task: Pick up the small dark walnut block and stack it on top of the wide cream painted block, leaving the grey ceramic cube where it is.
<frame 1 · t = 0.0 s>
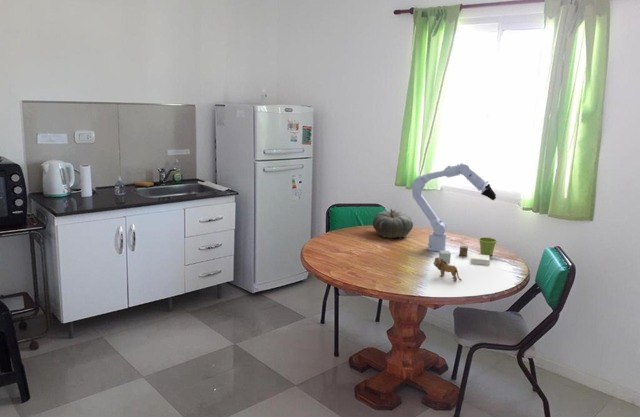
hand: (494, 197, 267), 32 cm above the table, fingers open, 7 cm apart
lion figurine: (446, 278, 237), on the table
cream block: (480, 262, 262), on the table
walnut block: (463, 255, 272), on the table
plant pot: (486, 255, 274), on the table
gourd: (392, 236, 310), on the table
grey cube: (444, 261, 262), on the table
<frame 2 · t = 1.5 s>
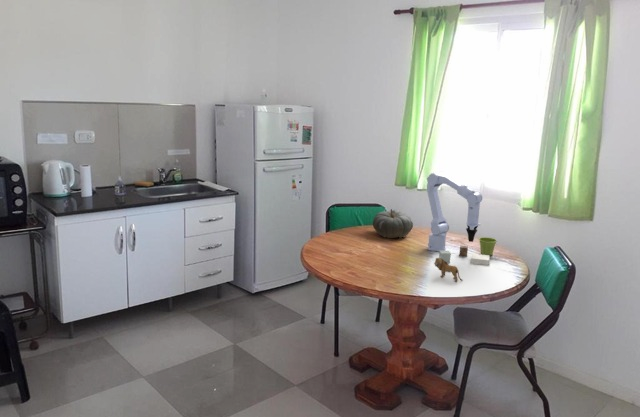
hand: (471, 239, 266), 10 cm above the table, fingers open, 7 cm apart
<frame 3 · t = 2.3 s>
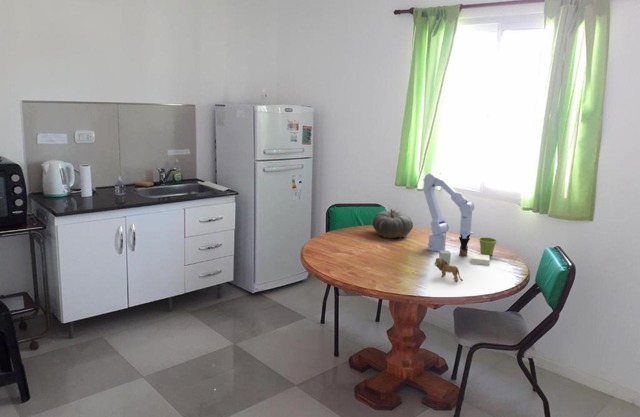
hand: (464, 248, 271), 4 cm above the table, fingers open, 7 cm apart
nothing on the table moved.
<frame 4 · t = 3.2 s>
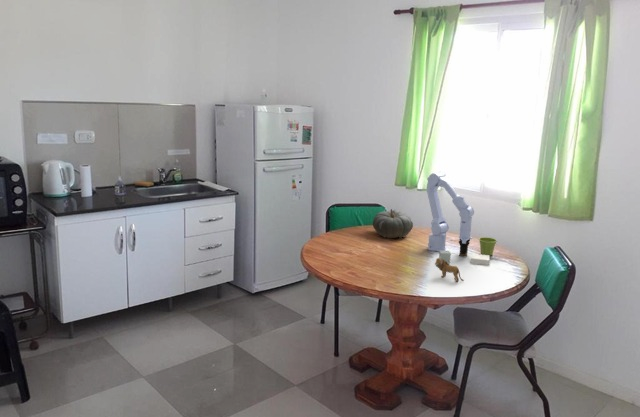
hand: (463, 252, 272), 1 cm above the table, fingers closed on walnut block, 4 cm apart
walnut block: (463, 255, 272), on the table, touching gripper
everything else where it was.
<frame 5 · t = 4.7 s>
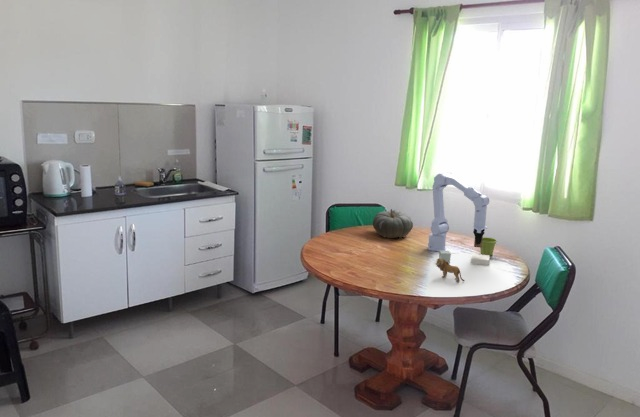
hand: (478, 243, 262), 9 cm above the table, fingers closed on walnut block, 4 cm apart
walnut block: (478, 246, 263), point 8 cm above the table, touching gripper
when the fingers open (6 cm above the table, at t = 6.0 s): walnut block drops 1 cm, resting on cream block.
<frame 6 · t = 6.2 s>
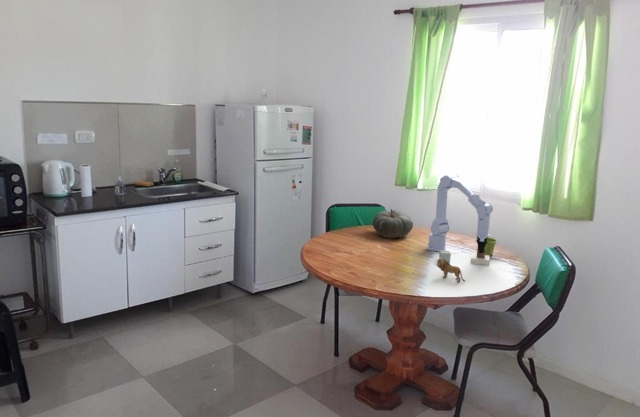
hand: (480, 251, 261), 6 cm above the table, fingers open, 6 cm apart
cream block: (479, 262, 262), on the table, touching walnut block
walnut block: (480, 257, 261), point 2 cm above the table, touching cream block
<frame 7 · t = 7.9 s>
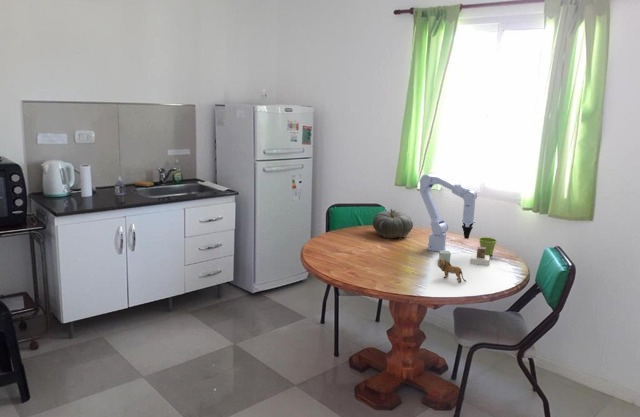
hand: (466, 236, 271), 10 cm above the table, fingers open, 7 cm apart
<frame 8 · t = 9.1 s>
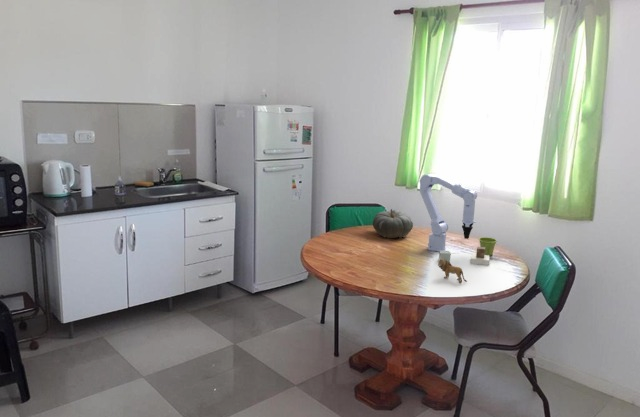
hand: (466, 236, 271), 10 cm above the table, fingers open, 7 cm apart
at the end: walnut block inside the target area on the cream block (0.1 cm from its centre), point 3.0 cm above the cream block's base; walnut block tilted 0°; grey cube moved 0.1 cm from its start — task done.
